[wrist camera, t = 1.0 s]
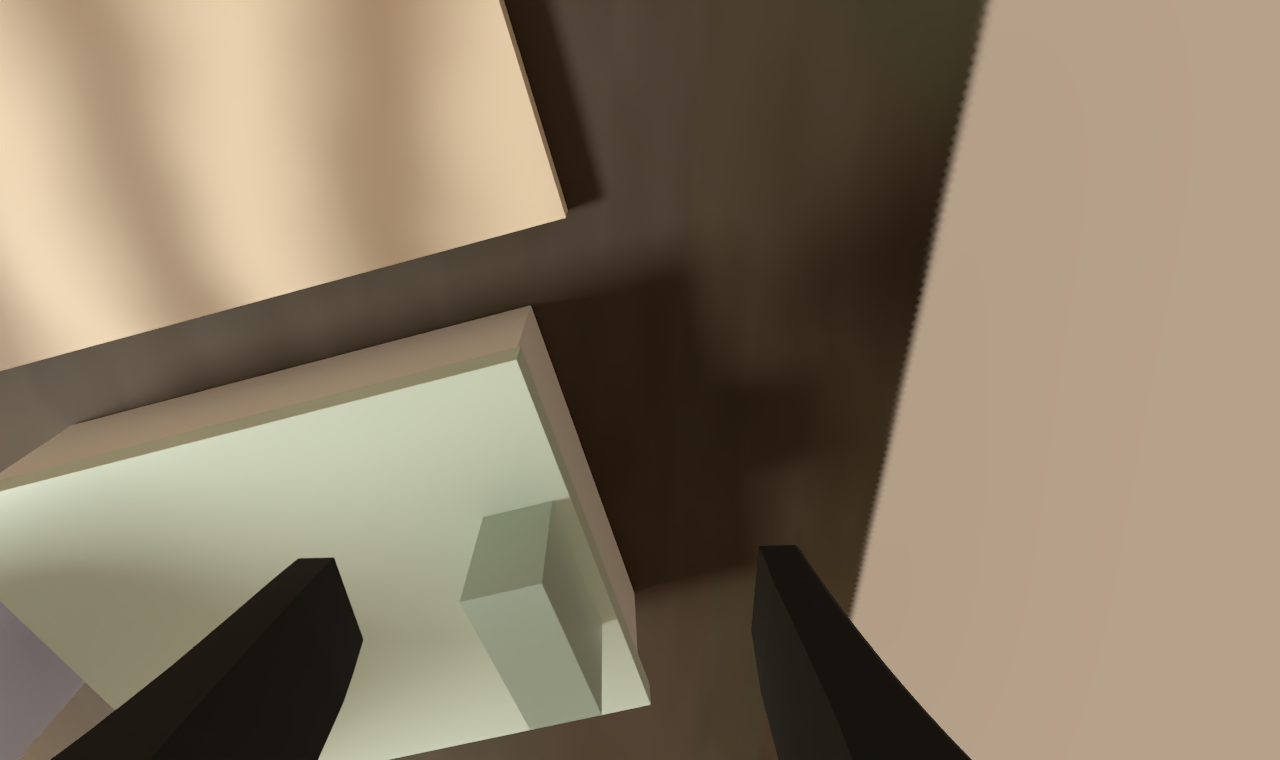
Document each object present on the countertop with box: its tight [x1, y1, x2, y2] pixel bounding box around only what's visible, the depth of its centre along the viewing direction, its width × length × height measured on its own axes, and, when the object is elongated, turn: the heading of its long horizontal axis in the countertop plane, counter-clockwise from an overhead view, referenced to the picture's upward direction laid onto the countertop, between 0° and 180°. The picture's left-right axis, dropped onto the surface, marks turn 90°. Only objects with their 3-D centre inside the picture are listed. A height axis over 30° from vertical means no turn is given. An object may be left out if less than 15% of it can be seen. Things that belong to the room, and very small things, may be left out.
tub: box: [0, 305, 637, 650], centre depth 21 cm, size 16×13×4 cm
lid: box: [0, 346, 651, 760], centre depth 18 cm, size 17×14×5 cm
